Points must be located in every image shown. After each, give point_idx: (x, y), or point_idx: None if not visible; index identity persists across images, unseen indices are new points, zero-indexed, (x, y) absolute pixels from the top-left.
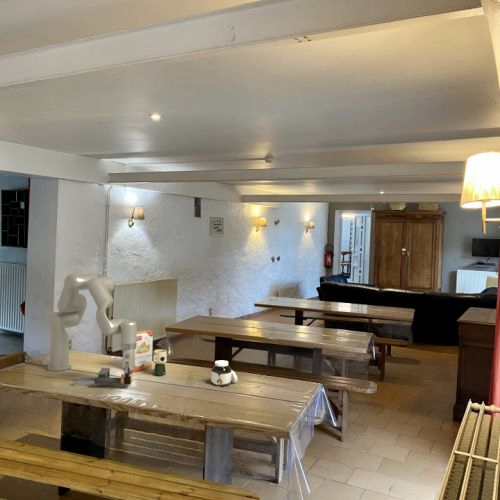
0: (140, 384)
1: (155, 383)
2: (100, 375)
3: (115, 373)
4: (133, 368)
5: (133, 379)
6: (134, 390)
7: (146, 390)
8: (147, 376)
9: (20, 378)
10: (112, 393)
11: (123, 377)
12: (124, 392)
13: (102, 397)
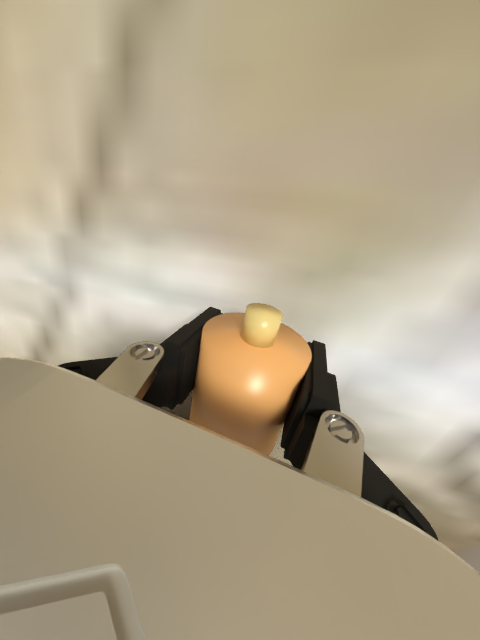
0: (210, 214)
1: (205, 8)
2: None
3: (10, 339)
4: (330, 513)
5: (279, 321)
6: (375, 295)
7: (452, 157)
8: (11, 127)
9: None
10: (370, 450)
11: (270, 441)
12: (391, 381)
13: (429, 516)
